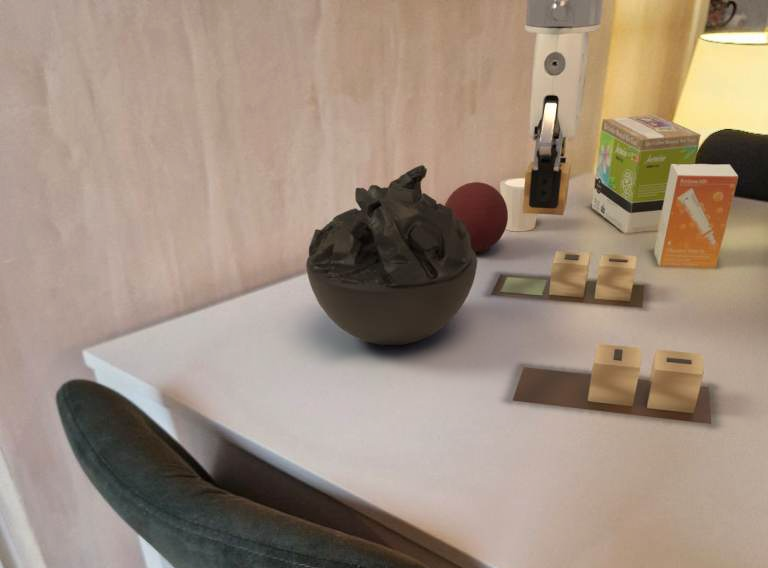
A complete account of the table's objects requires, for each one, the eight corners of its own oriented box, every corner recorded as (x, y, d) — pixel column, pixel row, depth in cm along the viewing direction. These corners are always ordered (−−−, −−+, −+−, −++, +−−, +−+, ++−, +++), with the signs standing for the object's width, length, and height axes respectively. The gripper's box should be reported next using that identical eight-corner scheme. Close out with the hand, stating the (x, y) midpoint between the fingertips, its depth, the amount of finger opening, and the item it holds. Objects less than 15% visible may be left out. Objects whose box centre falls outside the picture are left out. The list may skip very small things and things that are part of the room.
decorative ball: (437, 260, 116) (438, 192, 110) (445, 238, 124) (446, 173, 118) (503, 262, 115) (508, 193, 109) (507, 240, 123) (511, 175, 116)
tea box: (588, 209, 134) (601, 116, 125) (642, 205, 135) (658, 112, 126) (625, 236, 122) (641, 136, 113) (683, 231, 124) (704, 131, 115)
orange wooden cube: (566, 203, 90) (571, 161, 87) (562, 215, 87) (567, 172, 84) (527, 201, 91) (530, 160, 88) (522, 213, 88) (525, 170, 85)
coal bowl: (368, 392, 84) (361, 218, 73) (285, 331, 98) (267, 175, 86) (507, 344, 93) (519, 181, 81) (412, 294, 106) (411, 148, 95)
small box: (658, 269, 111) (676, 174, 103) (652, 254, 116) (670, 162, 108) (716, 271, 110) (739, 175, 102) (708, 255, 115) (730, 163, 107)
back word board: (643, 288, 105) (650, 251, 102) (642, 311, 99) (649, 273, 96) (500, 277, 110) (502, 241, 107) (490, 298, 104) (492, 261, 101)
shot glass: (496, 232, 126) (499, 187, 122) (498, 219, 131) (501, 176, 127) (538, 233, 125) (543, 188, 121) (538, 220, 130) (542, 176, 126)
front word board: (708, 390, 82) (719, 347, 79) (710, 428, 76) (723, 383, 73) (523, 370, 87) (526, 329, 84) (511, 404, 81) (515, 361, 78)
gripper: (596, 22, 70) (572, 225, 81) (605, 5, 83) (584, 182, 94) (514, 22, 72) (502, 221, 83) (536, 5, 84) (522, 179, 96)
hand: (545, 198), depth 88 cm, fingers closed on orange wooden cube, 4 cm apart
